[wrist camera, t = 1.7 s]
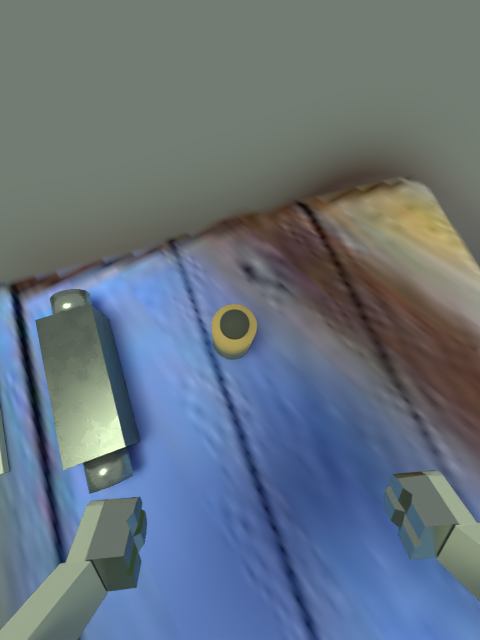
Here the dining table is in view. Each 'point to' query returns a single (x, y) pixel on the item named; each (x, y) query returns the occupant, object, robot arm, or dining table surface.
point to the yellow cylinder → (233, 331)
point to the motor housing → (87, 390)
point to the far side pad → (3, 450)
